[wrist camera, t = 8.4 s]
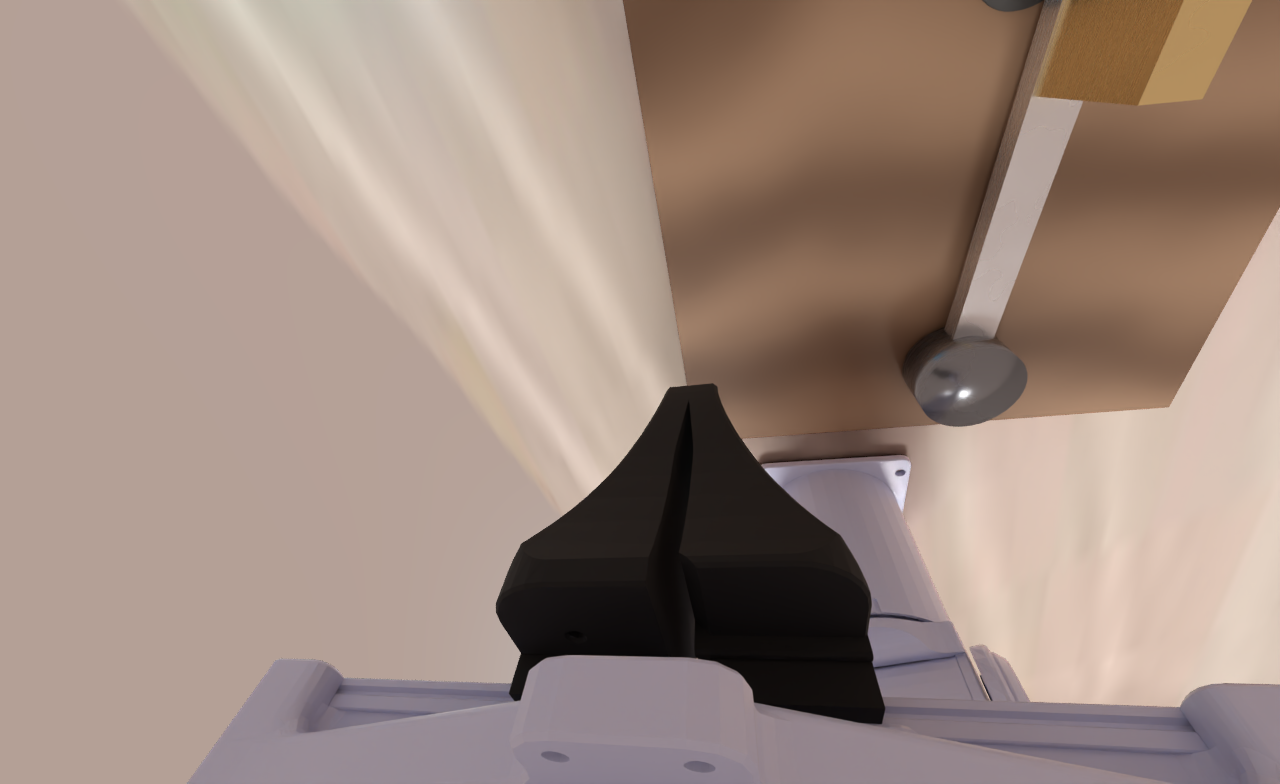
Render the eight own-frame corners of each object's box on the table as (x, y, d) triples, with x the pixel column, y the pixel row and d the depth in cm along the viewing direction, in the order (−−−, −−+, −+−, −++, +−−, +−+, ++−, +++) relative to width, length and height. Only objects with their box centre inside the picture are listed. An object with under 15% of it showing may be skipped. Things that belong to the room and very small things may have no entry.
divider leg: (982, 396, 20) (1050, 477, 16) (894, 398, 20) (938, 476, 17) (1195, -141, 11) (1466, -254, 7) (1027, -112, 12) (1193, -204, 8)
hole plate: (1132, 380, 21) (1171, 408, 19) (697, 417, 25) (696, 443, 23) (1495, -373, 10) (1656, -463, 8) (615, -92, 14) (603, -113, 12)
